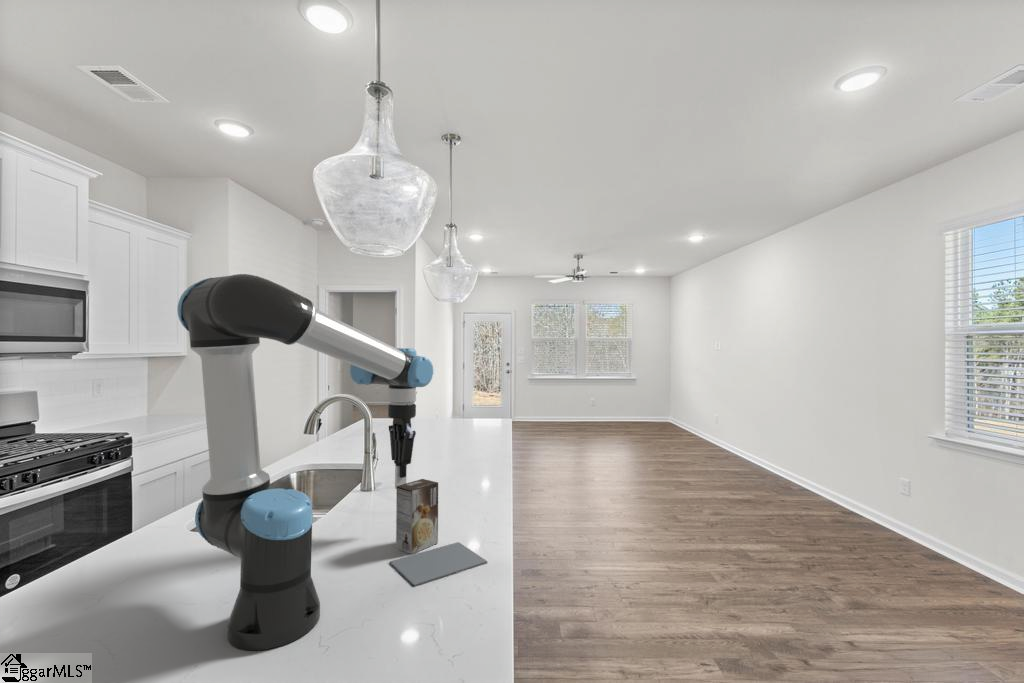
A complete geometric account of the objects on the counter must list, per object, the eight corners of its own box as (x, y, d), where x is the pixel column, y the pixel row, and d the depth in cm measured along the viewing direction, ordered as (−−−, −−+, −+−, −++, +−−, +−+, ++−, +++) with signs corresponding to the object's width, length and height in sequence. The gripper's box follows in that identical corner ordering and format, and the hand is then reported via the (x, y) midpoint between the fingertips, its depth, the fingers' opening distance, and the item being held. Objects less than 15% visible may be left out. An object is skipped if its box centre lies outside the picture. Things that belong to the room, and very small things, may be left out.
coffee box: (422, 537, 125) (423, 477, 125) (438, 543, 121) (439, 482, 121) (394, 548, 117) (396, 485, 118) (411, 555, 114) (412, 490, 114)
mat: (414, 586, 99) (414, 584, 99) (389, 563, 109) (389, 561, 109) (487, 562, 110) (487, 561, 110) (458, 543, 121) (458, 542, 121)
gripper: (425, 404, 125) (423, 491, 125) (404, 400, 136) (403, 480, 135) (399, 406, 121) (397, 496, 120) (380, 401, 131) (378, 484, 131)
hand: (400, 487), depth 128 cm, fingers closed
